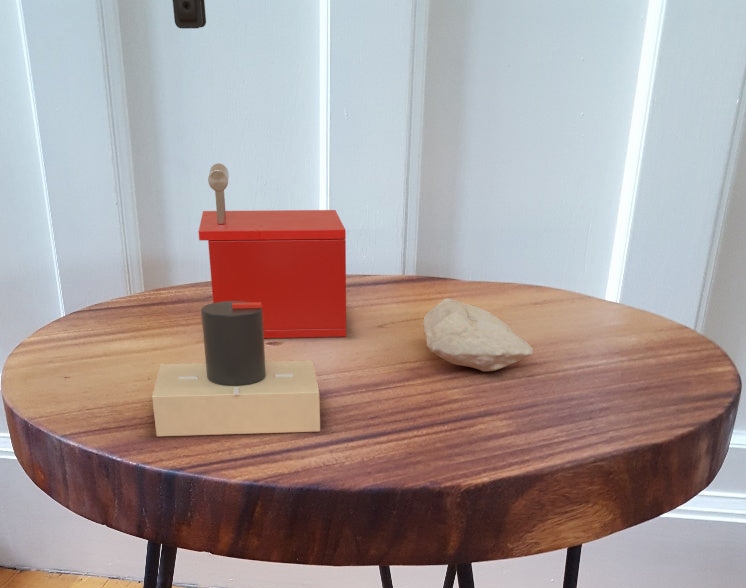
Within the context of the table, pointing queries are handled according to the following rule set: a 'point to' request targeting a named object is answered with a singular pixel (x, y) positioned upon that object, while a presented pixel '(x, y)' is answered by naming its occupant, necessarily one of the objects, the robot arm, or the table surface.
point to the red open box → (285, 283)
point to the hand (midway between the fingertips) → (191, 27)
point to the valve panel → (236, 401)
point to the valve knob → (234, 342)
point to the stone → (472, 337)
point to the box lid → (264, 219)
